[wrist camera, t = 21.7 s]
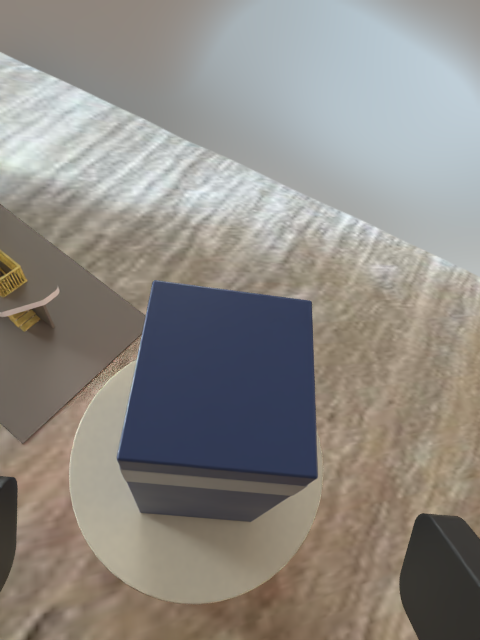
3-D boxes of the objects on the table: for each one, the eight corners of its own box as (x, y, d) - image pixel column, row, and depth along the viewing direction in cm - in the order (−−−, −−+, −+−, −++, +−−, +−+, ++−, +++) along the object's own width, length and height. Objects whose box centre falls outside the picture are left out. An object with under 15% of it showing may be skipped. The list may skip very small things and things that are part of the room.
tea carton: (139, 513, 19) (114, 461, 10) (158, 396, 21) (152, 278, 13) (252, 522, 19) (320, 480, 11) (257, 406, 22) (312, 299, 13)
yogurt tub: (65, 448, 27) (30, 405, 20) (226, 367, 32) (242, 310, 25) (147, 647, 23) (138, 678, 16) (321, 520, 27) (372, 501, 20)
